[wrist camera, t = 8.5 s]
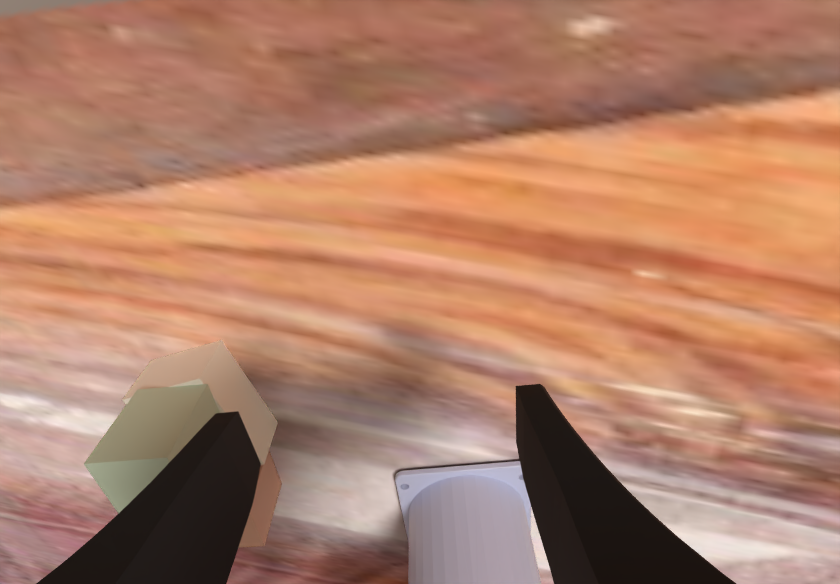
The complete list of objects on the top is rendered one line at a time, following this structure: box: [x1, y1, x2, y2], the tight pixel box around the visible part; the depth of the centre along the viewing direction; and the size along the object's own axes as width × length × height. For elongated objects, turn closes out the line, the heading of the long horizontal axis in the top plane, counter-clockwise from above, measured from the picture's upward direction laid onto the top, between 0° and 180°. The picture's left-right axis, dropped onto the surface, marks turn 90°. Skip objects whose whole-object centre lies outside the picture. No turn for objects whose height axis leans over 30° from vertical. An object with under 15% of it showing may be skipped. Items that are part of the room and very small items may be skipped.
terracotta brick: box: [238, 451, 282, 548], centre depth 27 cm, size 6×3×4 cm, turn 95°
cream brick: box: [122, 340, 278, 465], centre depth 24 cm, size 6×4×3 cm, turn 18°
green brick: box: [84, 384, 220, 514], centre depth 21 cm, size 6×3×4 cm, turn 5°
